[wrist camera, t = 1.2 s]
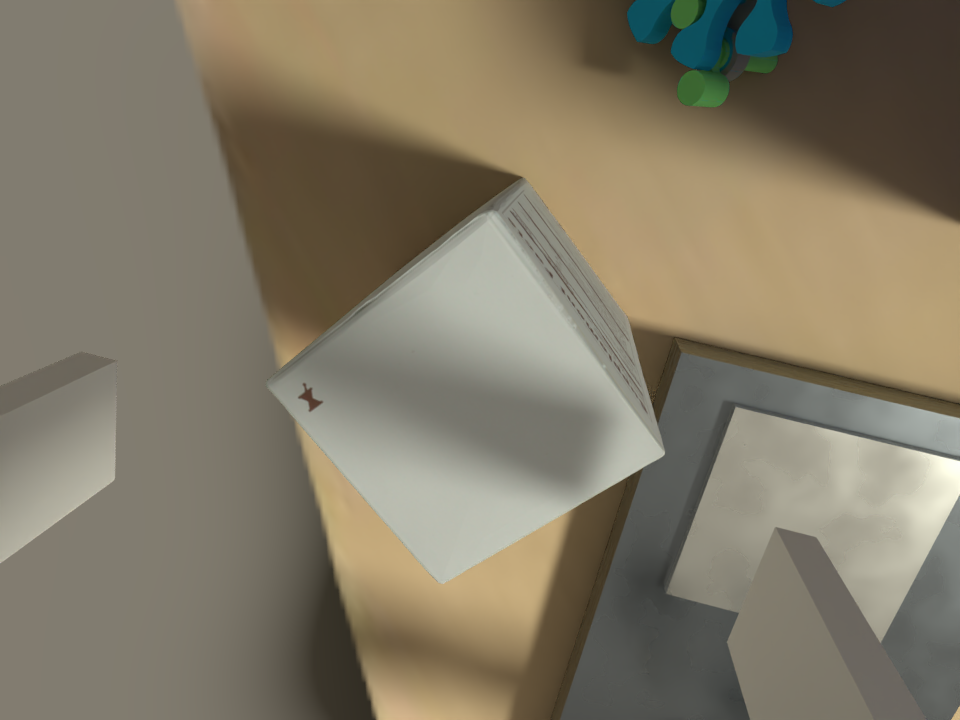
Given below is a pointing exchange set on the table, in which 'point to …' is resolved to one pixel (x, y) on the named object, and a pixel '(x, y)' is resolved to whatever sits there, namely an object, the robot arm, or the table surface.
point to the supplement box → (478, 388)
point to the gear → (716, 40)
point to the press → (749, 526)
